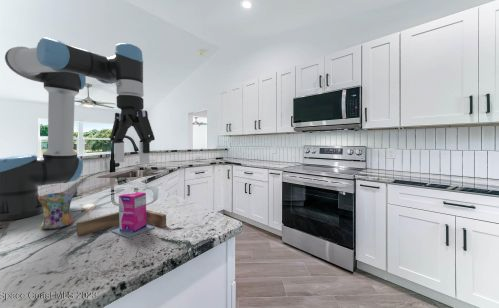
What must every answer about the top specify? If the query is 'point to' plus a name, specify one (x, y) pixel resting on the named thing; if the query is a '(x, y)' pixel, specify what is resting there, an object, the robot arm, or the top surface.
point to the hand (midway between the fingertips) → (131, 163)
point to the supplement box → (132, 211)
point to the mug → (56, 210)
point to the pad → (130, 234)
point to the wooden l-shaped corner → (116, 222)
